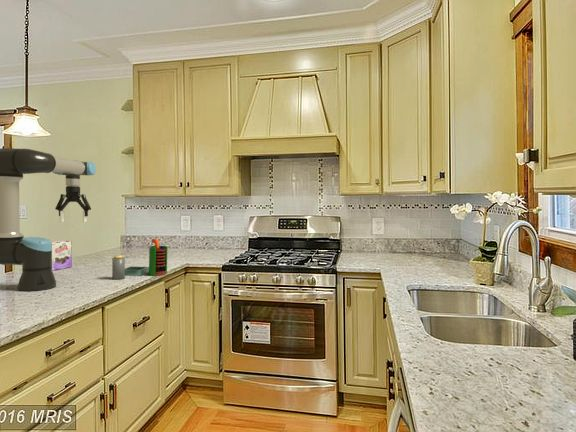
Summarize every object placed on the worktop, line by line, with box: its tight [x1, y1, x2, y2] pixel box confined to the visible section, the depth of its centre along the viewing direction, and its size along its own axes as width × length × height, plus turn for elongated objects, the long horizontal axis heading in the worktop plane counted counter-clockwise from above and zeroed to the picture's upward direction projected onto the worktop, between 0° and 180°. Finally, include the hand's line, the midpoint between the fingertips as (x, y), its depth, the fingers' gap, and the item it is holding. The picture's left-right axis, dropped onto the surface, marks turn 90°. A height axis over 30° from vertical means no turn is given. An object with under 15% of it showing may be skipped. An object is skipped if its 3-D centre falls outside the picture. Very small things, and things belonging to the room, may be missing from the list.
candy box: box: [51, 240, 73, 272], centre depth 226 cm, size 14×6×16 cm, turn 160°
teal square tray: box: [125, 266, 149, 277], centre depth 217 cm, size 11×12×3 cm
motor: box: [148, 238, 168, 277], centre depth 216 cm, size 10×9×20 cm
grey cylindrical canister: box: [111, 254, 126, 281], centre depth 203 cm, size 6×6×12 cm
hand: (73, 221), depth 228 cm, fingers open, 13 cm apart
